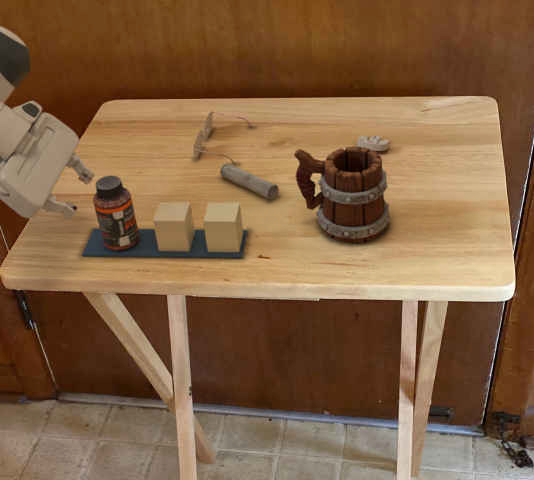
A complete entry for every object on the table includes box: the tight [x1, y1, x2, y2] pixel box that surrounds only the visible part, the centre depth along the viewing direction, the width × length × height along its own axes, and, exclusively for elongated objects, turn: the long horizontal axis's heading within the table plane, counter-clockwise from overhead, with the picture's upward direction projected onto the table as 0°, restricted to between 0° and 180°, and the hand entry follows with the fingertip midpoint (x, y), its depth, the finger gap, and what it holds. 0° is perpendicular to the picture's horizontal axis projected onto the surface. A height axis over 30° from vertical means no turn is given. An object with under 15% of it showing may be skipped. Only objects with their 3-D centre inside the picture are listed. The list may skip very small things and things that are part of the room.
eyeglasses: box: [192, 110, 253, 165], centre depth 152 cm, size 14×8×4 cm, turn 168°
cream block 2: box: [202, 202, 244, 252], centre depth 128 cm, size 5×5×6 cm
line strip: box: [81, 228, 249, 260], centre depth 132 cm, size 26×7×1 cm, turn 83°
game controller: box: [357, 134, 390, 152], centre depth 145 cm, size 6×12×3 cm, turn 173°
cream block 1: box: [152, 201, 196, 252], centre depth 129 cm, size 5×5×6 cm
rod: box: [219, 162, 280, 200], centre depth 141 cm, size 12×3×3 cm, turn 47°
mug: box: [293, 146, 390, 244], centre depth 128 cm, size 12×14×15 cm
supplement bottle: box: [92, 175, 139, 250], centre depth 129 cm, size 6×6×11 cm
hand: (83, 196), depth 127 cm, fingers open, 8 cm apart
